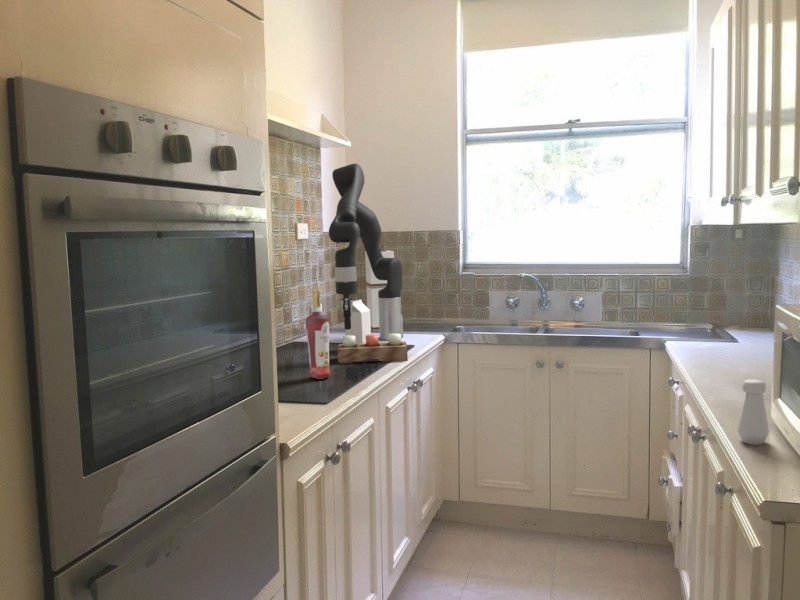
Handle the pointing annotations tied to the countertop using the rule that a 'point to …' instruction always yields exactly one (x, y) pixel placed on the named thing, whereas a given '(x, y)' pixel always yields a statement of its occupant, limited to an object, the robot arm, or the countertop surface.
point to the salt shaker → (753, 414)
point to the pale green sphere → (349, 341)
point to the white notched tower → (374, 291)
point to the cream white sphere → (394, 339)
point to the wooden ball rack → (373, 352)
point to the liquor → (318, 339)
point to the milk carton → (359, 322)
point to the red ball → (372, 340)
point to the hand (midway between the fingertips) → (347, 329)
